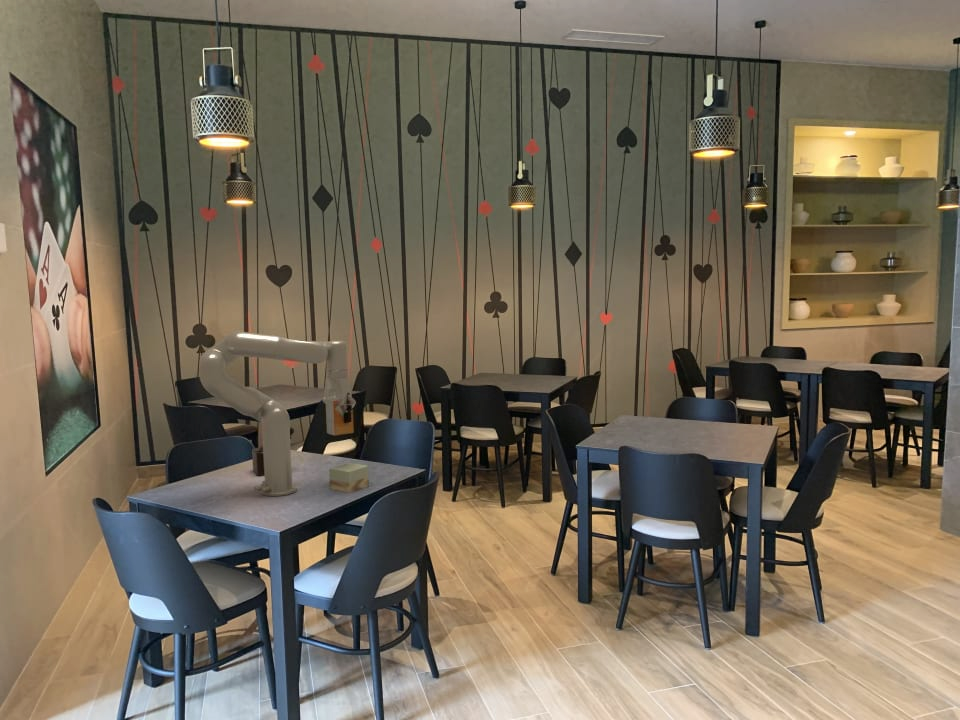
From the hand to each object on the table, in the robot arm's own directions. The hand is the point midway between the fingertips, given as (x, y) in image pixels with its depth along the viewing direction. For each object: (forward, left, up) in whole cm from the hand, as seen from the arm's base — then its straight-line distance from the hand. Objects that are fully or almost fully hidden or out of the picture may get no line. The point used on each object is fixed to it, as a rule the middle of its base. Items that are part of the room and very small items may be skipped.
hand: (339, 421), depth 272 cm
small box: (0, 0, -5) cm, 5 cm away
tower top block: (-1, -5, -20) cm, 21 cm away
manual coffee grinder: (-1, +38, -24) cm, 45 cm away
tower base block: (-2, -5, -24) cm, 25 cm away
